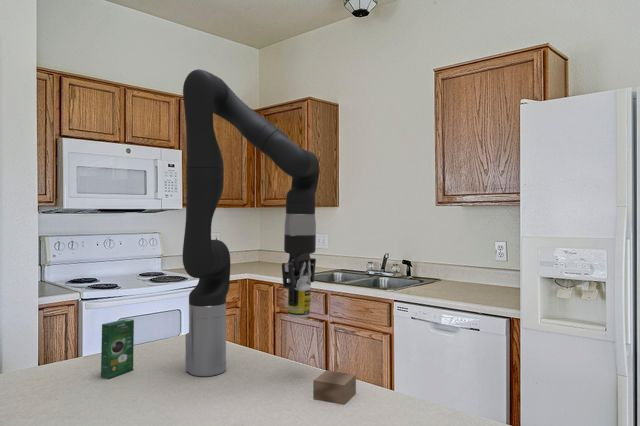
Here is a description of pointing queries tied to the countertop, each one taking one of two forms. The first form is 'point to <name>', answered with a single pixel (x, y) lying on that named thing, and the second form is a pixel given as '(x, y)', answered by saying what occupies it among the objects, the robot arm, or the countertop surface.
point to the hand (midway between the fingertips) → (298, 303)
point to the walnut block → (334, 387)
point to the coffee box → (117, 348)
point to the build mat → (337, 403)
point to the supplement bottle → (301, 300)
